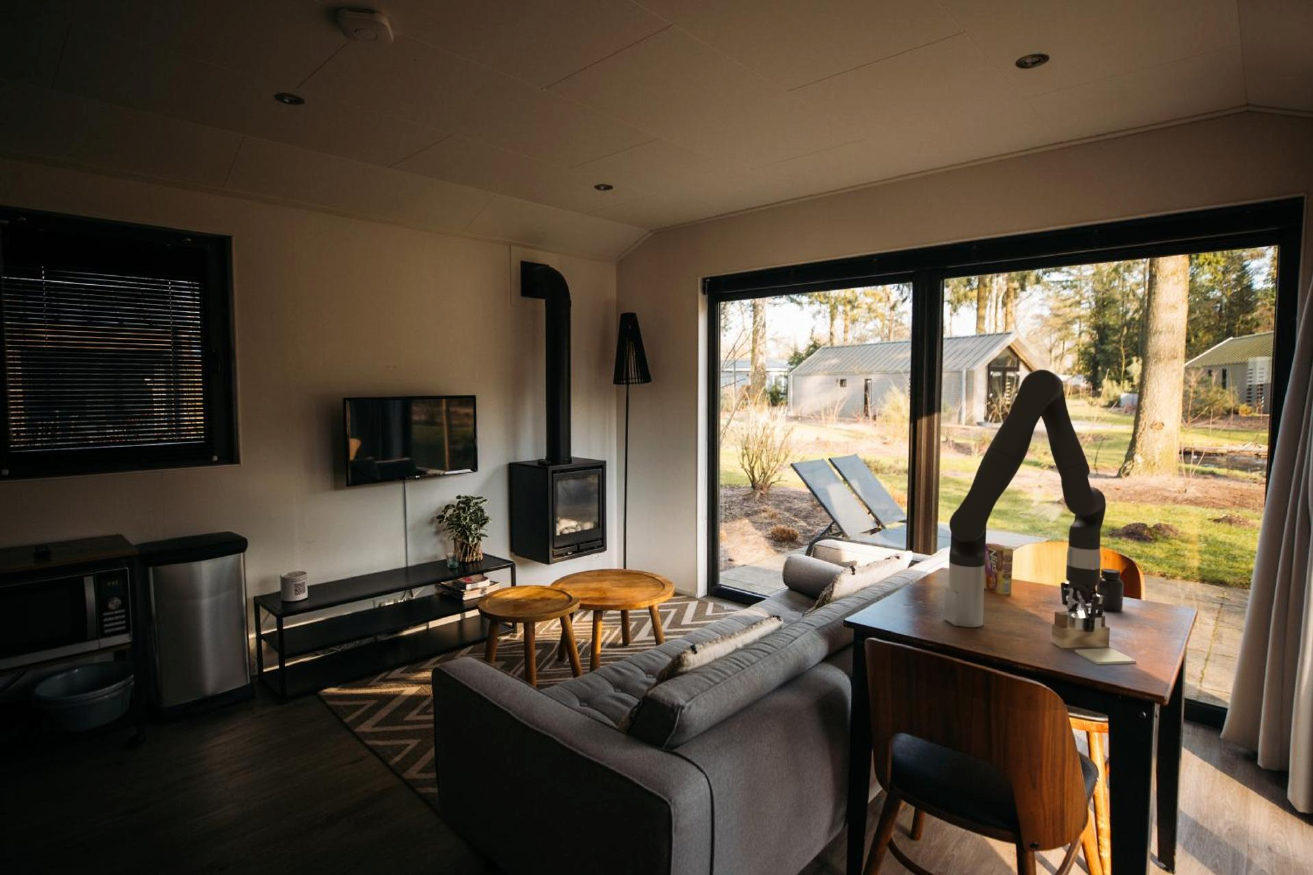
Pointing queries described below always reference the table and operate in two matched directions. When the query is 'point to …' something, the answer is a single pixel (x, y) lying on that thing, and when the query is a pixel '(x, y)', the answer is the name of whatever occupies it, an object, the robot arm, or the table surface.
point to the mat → (1105, 656)
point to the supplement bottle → (1111, 590)
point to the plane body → (1078, 634)
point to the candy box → (998, 568)
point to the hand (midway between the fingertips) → (1080, 627)
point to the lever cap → (1079, 620)
